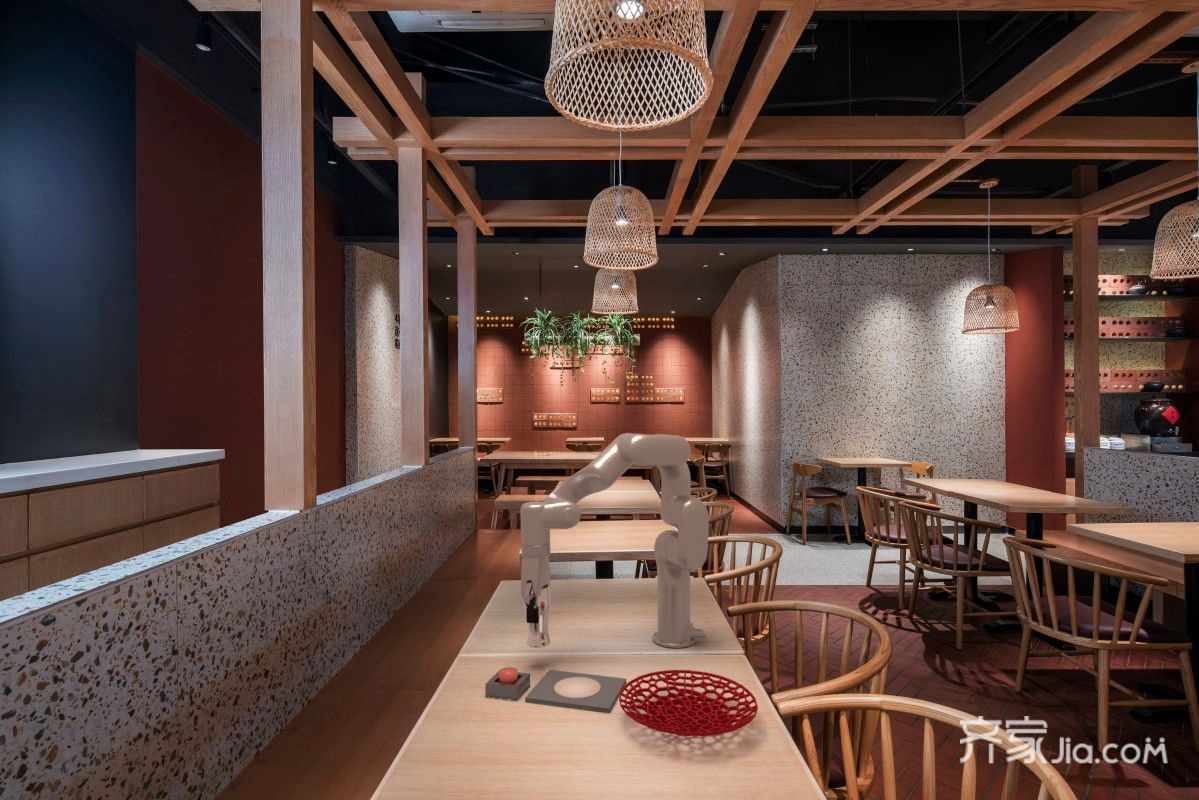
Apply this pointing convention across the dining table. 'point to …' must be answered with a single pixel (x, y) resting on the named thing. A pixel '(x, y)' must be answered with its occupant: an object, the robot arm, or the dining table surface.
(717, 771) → the dining table surface
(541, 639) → the beer glass
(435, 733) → the dining table surface
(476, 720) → the dining table surface
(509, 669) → the button
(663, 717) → the bowl
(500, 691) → the button housing
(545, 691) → the grey rectangular board
